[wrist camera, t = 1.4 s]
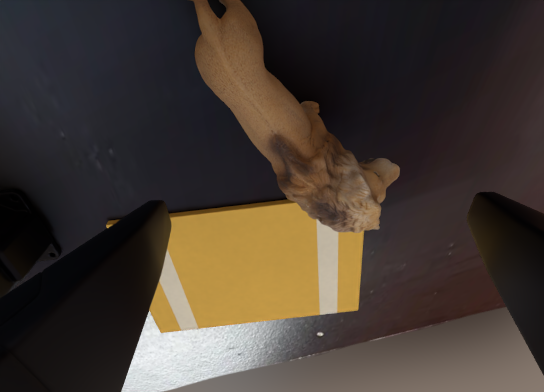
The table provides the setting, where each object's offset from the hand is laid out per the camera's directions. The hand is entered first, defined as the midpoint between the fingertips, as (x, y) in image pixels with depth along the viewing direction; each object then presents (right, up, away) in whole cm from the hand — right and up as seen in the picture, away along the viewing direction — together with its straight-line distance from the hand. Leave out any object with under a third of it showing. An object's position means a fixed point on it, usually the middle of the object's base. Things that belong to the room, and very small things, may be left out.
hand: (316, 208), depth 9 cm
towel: (-3, -6, +19) cm, 20 cm away
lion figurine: (-1, +7, +10) cm, 13 cm away
